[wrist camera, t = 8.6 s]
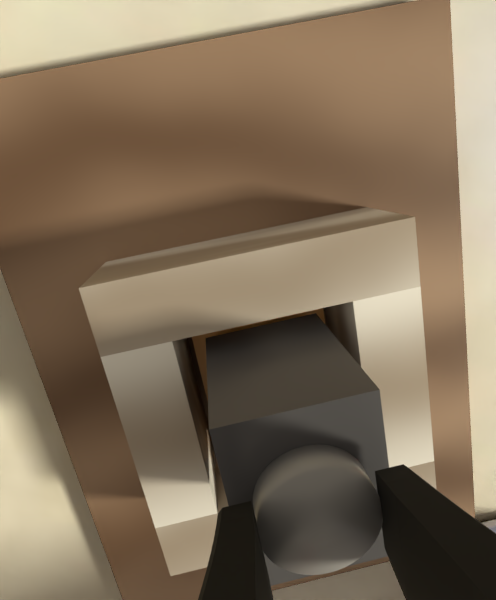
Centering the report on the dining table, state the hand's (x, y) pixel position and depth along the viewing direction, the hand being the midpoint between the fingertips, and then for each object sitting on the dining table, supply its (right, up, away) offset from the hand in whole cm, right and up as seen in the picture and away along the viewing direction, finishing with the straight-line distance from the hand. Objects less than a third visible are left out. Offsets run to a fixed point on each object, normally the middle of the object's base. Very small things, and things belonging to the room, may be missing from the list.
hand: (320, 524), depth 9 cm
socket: (-1, +2, +9) cm, 9 cm away
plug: (-1, +2, +6) cm, 6 cm away
